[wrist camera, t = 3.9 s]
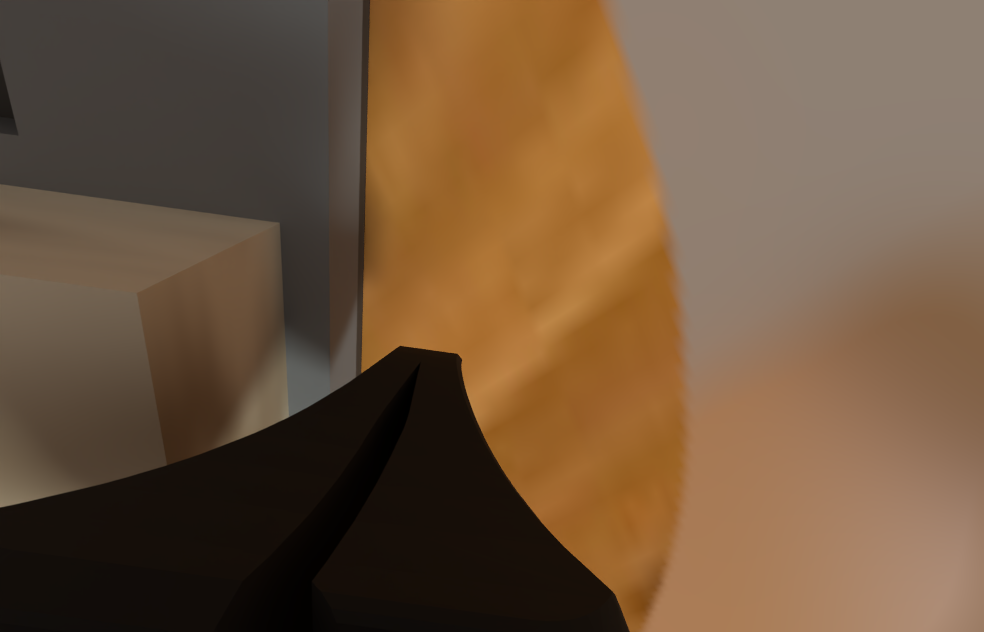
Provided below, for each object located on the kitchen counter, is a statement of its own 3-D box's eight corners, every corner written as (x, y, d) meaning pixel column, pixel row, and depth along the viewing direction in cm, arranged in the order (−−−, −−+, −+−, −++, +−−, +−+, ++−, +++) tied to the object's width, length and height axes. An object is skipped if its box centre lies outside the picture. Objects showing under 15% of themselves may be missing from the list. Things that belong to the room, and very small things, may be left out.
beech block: (290, 459, 12) (192, 611, 8) (51, 426, 12) (-151, 565, 8) (279, 222, 10) (137, 292, 6) (-18, 181, 10) (-342, 227, 6)
